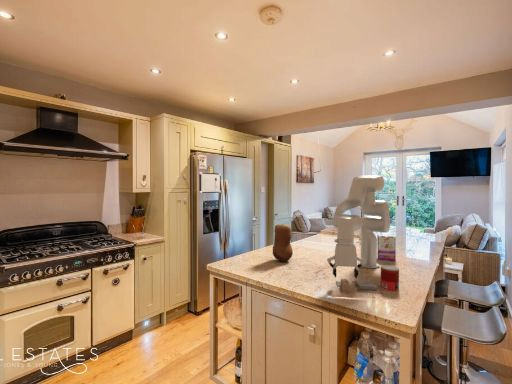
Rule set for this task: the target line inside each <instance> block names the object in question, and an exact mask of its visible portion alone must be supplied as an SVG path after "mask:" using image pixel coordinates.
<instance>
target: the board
mask: <svg viewBox="0 0 512 384" xmlns="http://www.w3.org/2000/svg"><path fill="white" fill-rule="evenodd" d="M351 282H352V284H353V285H354V288H355V289H356V291H357V292H358V293H369V294H383V292H382V291H381V290H380V288H379V287H378V286H377V284H376V283H375V285H376V286H377V290H368V289H359V287H358V285H357V284H356V280H351Z"/></svg>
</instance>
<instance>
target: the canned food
mask: <svg viewBox="0 0 512 384" xmlns="http://www.w3.org/2000/svg"><path fill="white" fill-rule="evenodd" d="M399 285H400V268H399V267H398V266H395V265H390V264H382V265H381V266H380V288H381V289H382V290H386V291H392V292H396V291H399V287H400V286H399Z"/></svg>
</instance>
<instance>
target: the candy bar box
mask: <svg viewBox="0 0 512 384" xmlns="http://www.w3.org/2000/svg"><path fill="white" fill-rule="evenodd" d="M376 238H377V260H378V261H379V260H380V261H393V262H394V261H396V260H397V259H396V258H397V257H396V253H397V252H396V245H397V244H396V243H397V242H396V241H397V240H396V239H397V237H396V236H395V235H383V234H382V235H380V234H378V235H376Z"/></svg>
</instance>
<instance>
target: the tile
mask: <svg viewBox="0 0 512 384" xmlns="http://www.w3.org/2000/svg"><path fill="white" fill-rule="evenodd" d="M355 281H356V284H357V285H358V287H359V289H368V290H377V287H378V285H377V284H376V283H375V282H374V280H370V279H360V278H355ZM375 284H376V285H375Z"/></svg>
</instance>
